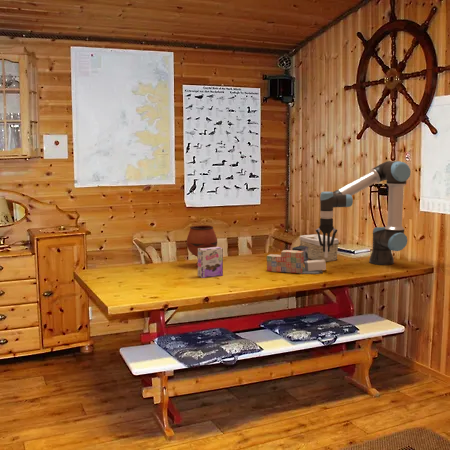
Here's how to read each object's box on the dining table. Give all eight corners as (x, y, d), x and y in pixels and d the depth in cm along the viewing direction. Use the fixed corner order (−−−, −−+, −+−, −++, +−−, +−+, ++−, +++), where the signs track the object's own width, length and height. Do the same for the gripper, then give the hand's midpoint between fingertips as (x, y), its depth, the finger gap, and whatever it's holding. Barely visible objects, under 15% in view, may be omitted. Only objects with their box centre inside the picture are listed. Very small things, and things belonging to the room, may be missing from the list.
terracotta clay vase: (181, 267, 357) (181, 227, 353) (194, 262, 374) (194, 223, 371) (210, 270, 349) (209, 229, 346) (222, 264, 367) (221, 225, 364)
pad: (319, 268, 353) (319, 266, 353) (322, 274, 337) (322, 272, 337) (297, 268, 353) (297, 266, 353) (299, 274, 338) (299, 272, 337)
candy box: (201, 278, 328) (201, 249, 326) (197, 276, 333) (197, 248, 331) (223, 275, 334) (223, 247, 332) (218, 273, 340) (218, 246, 337)
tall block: (324, 259, 347) (304, 260, 348) (325, 261, 341) (305, 262, 342) (324, 267, 347) (304, 269, 348) (325, 269, 342) (305, 271, 342)
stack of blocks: (266, 271, 346) (266, 251, 344) (270, 269, 351) (269, 249, 350) (301, 273, 337) (300, 252, 335) (304, 271, 342) (303, 250, 341)
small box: (300, 265, 363) (300, 248, 362) (291, 263, 367) (291, 247, 366) (308, 262, 371) (308, 246, 370) (299, 261, 375) (300, 245, 374)
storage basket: (339, 260, 376) (340, 238, 374) (319, 263, 369) (319, 240, 367) (318, 254, 398) (318, 233, 396) (298, 256, 390) (298, 235, 388)
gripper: (336, 217, 344) (336, 255, 347) (314, 217, 345) (314, 256, 348) (338, 218, 337) (338, 258, 340) (316, 218, 337) (315, 258, 340)
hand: (326, 257), depth 344 cm, fingers closed
